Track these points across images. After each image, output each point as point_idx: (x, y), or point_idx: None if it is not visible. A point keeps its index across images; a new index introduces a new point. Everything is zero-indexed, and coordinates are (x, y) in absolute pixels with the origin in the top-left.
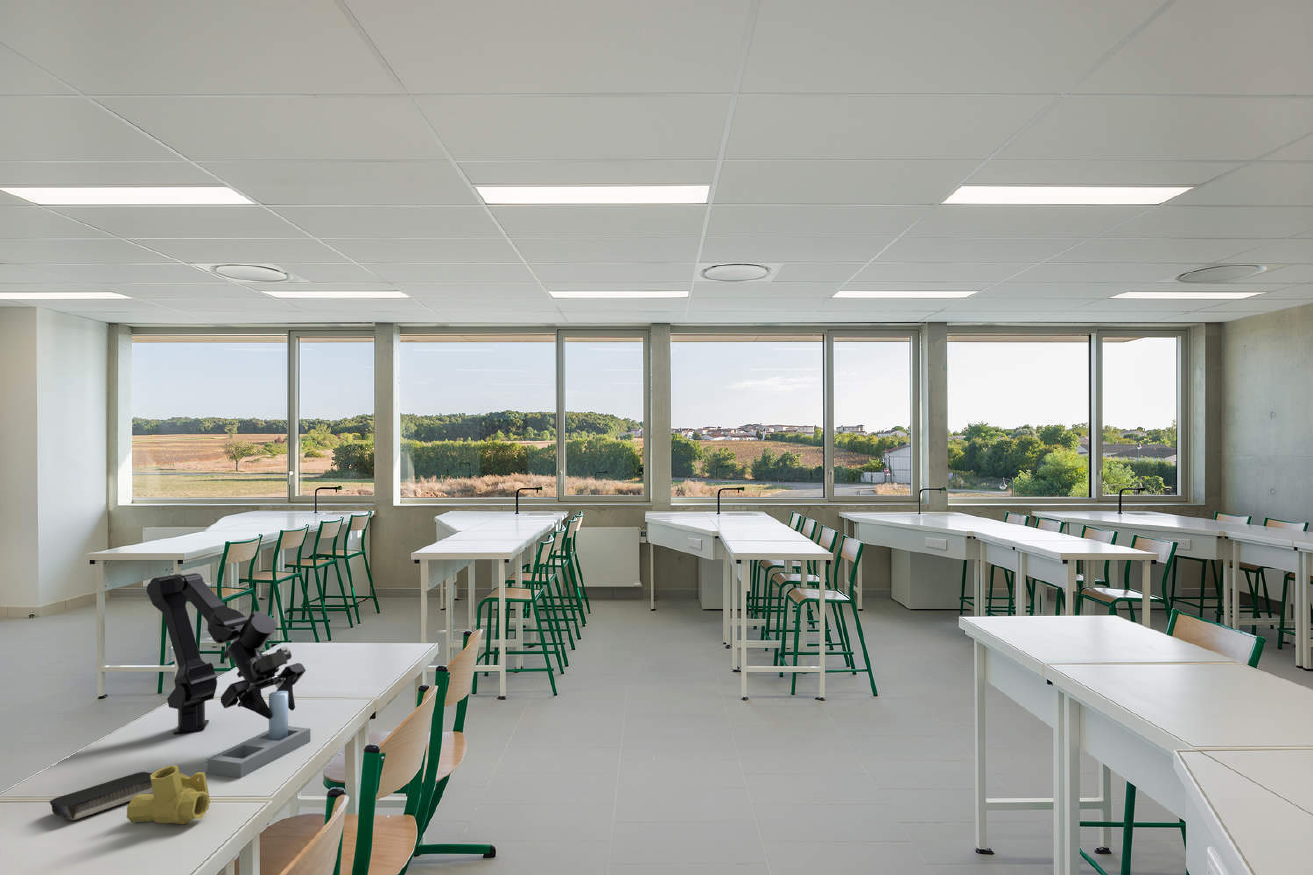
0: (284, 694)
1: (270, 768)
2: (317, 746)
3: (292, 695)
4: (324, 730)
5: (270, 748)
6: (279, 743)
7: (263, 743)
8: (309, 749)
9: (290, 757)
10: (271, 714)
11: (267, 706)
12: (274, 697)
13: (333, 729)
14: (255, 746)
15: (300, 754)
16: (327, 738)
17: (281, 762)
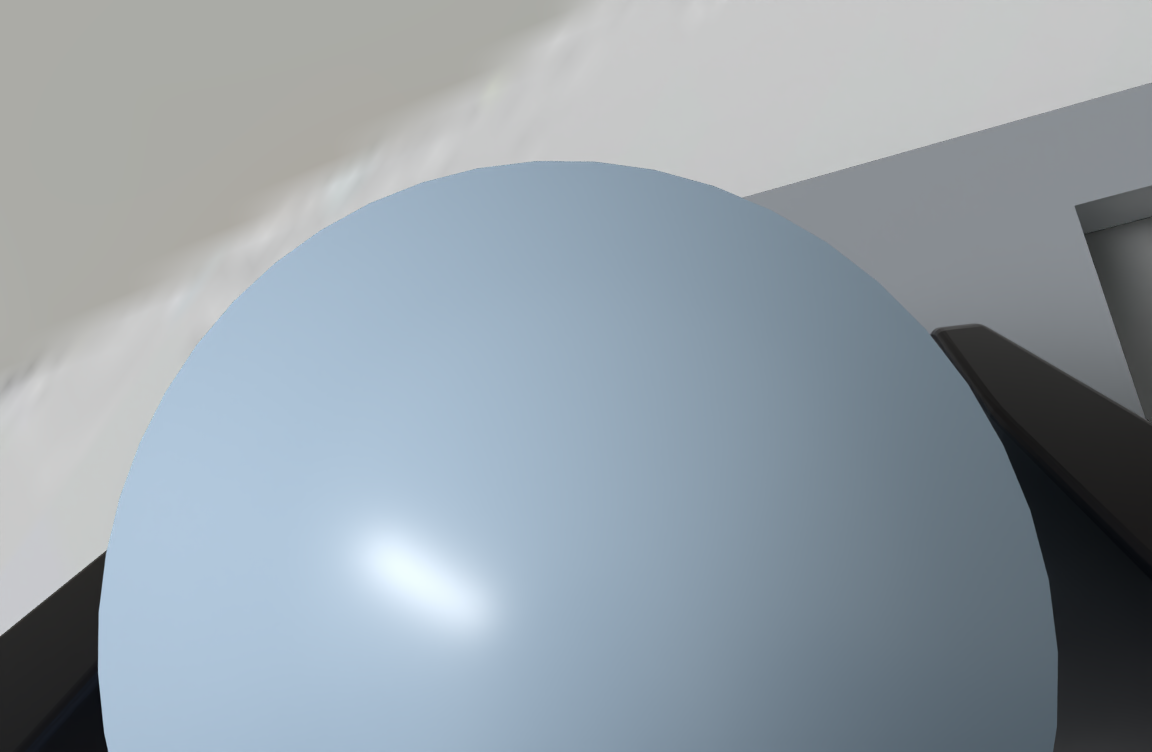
0: (478, 201)
1: (1083, 17)
2: (443, 145)
3: (47, 619)
4: (121, 492)
5: (1043, 114)
6: (859, 183)
7: None
8: (535, 143)
9: (775, 115)
10: (964, 343)
11: (1099, 492)
12: (936, 373)
13: (65, 428)
14: (1125, 384)
15: (668, 99)
16: (255, 254)
17: (913, 70)
